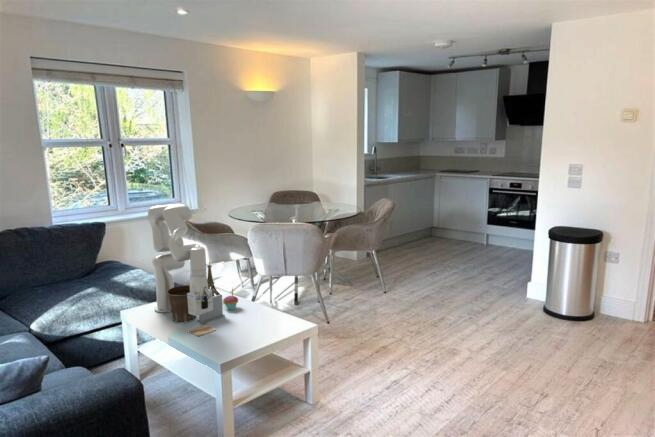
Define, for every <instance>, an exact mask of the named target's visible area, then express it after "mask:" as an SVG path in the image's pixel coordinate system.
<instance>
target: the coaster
mask: <svg viewBox="0 0 655 437" xmlns="http://www.w3.org/2000/svg"><path fill="white" fill-rule="evenodd" d="M188 331H189V332H188ZM215 331H216V328H214V327H212V326H209V325H207V324H206V323H205V324H201V325H198V326H195V327H192V328H190V329H187V332H188V333H190V332H191V333H190V334H192V333H193V334H192V335H194V334H195V336H196V335H197V336H196V337H198V338H199V337H202V336H204V335H206V334H207V335H208V334H210V333H213V332H215Z"/></svg>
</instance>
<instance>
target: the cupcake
mask: <svg viewBox="0 0 655 437" xmlns="http://www.w3.org/2000/svg"><path fill="white" fill-rule="evenodd" d="M238 303H239V298H238V297H237V296H235V295H234V288H231V295H228V296H226V297H225V298H223V299H222V304H223V305H224V306H225V308H226V310H229V311H230V310H231V311H232V310H235V309H236V306H237V304H238Z"/></svg>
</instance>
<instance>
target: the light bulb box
mask: <svg viewBox="0 0 655 437" xmlns="http://www.w3.org/2000/svg"><path fill="white" fill-rule="evenodd" d="M208 292H209V294H210V296H209V299H208V308H206V309H202V302H201V301H202V297H199V294H197V293H194V292H190V293H187V299H188V313H189V314H191V315H194V316H196V317H199V315H201V314H203V313H206V312H209V311H211V310H213V301H212V290H211V288H210V289H208ZM204 294H205V293H203V295H204ZM203 297H204V298H205V296H203Z"/></svg>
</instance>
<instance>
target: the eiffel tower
mask: <svg viewBox="0 0 655 437" xmlns="http://www.w3.org/2000/svg"><path fill="white" fill-rule="evenodd" d="M207 281H208V289H211V290H212V297H213V296H217V295H220V294H221V293H220V292H219V291H218V289H217V288H216V286H215V281H214V278H213V273H212V264H210V262H208V265H207Z"/></svg>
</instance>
